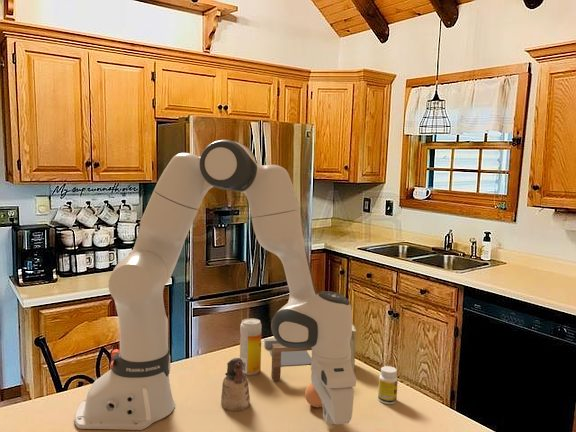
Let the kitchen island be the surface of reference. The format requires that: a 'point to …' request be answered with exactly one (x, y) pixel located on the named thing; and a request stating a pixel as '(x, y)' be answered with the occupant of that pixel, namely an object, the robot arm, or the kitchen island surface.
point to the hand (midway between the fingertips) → (328, 421)
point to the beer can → (250, 346)
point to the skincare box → (353, 346)
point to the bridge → (277, 359)
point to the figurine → (235, 387)
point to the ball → (312, 396)
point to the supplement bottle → (388, 385)
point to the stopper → (270, 343)
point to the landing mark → (294, 358)
